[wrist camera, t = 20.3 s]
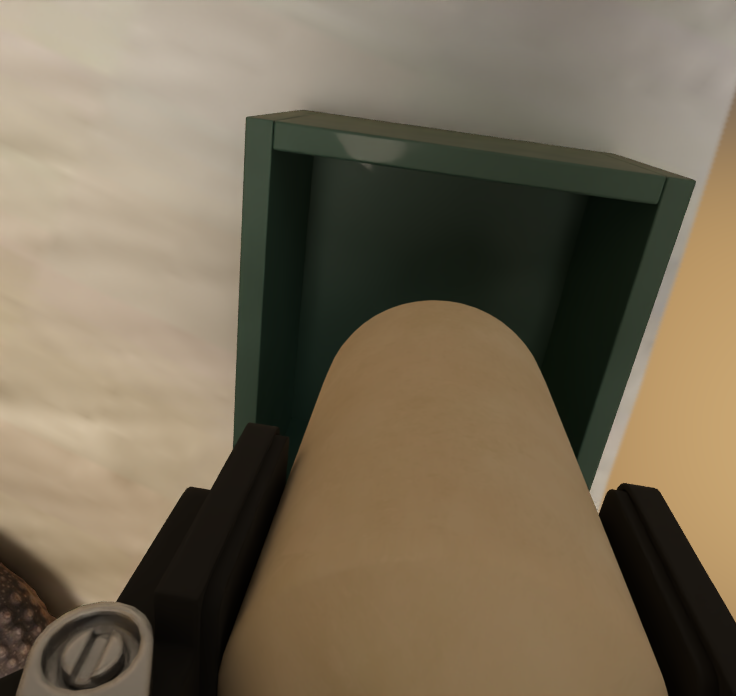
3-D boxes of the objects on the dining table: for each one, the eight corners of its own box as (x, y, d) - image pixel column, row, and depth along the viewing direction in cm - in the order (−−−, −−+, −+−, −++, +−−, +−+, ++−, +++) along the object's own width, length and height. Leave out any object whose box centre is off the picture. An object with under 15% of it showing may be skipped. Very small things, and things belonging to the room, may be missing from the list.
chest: (301, 109, 24) (245, 116, 17) (615, 153, 23) (697, 180, 16) (278, 420, 30) (229, 523, 22) (528, 460, 29) (559, 579, 22)
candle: (487, 514, 16) (560, 1052, 7) (299, 447, 16) (126, 917, 7) (583, 344, 14) (867, 809, 5) (367, 263, 14) (243, 597, 5)
